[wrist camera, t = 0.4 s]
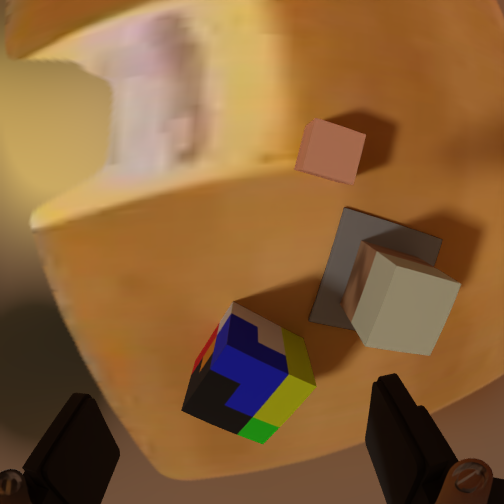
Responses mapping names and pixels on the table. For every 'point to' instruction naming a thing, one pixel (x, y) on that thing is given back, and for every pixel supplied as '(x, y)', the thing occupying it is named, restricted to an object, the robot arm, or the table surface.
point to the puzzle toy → (249, 376)
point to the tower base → (366, 273)
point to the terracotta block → (330, 151)
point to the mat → (345, 252)
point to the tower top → (404, 305)
